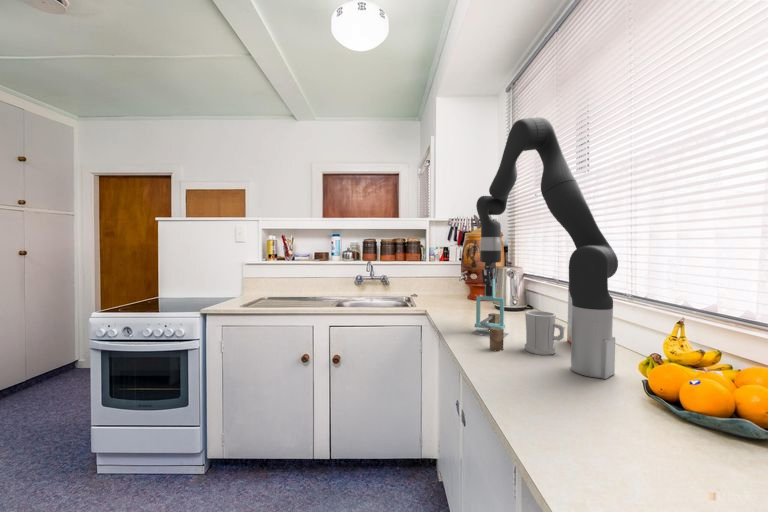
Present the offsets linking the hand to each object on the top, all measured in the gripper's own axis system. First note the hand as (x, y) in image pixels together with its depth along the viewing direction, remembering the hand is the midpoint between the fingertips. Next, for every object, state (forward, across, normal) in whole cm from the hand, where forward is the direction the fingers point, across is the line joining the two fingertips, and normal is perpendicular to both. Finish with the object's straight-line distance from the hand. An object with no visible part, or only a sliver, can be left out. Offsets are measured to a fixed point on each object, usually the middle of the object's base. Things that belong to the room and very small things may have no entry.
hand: (490, 295), depth 132 cm
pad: (+15, 0, 0) cm, 15 cm away
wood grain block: (+15, -7, -4) cm, 17 cm away
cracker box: (+15, 0, -31) cm, 34 cm away
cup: (+15, -13, -20) cm, 28 cm away
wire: (+9, -7, -4) cm, 12 cm away
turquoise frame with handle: (+12, 0, 0) cm, 12 cm away
